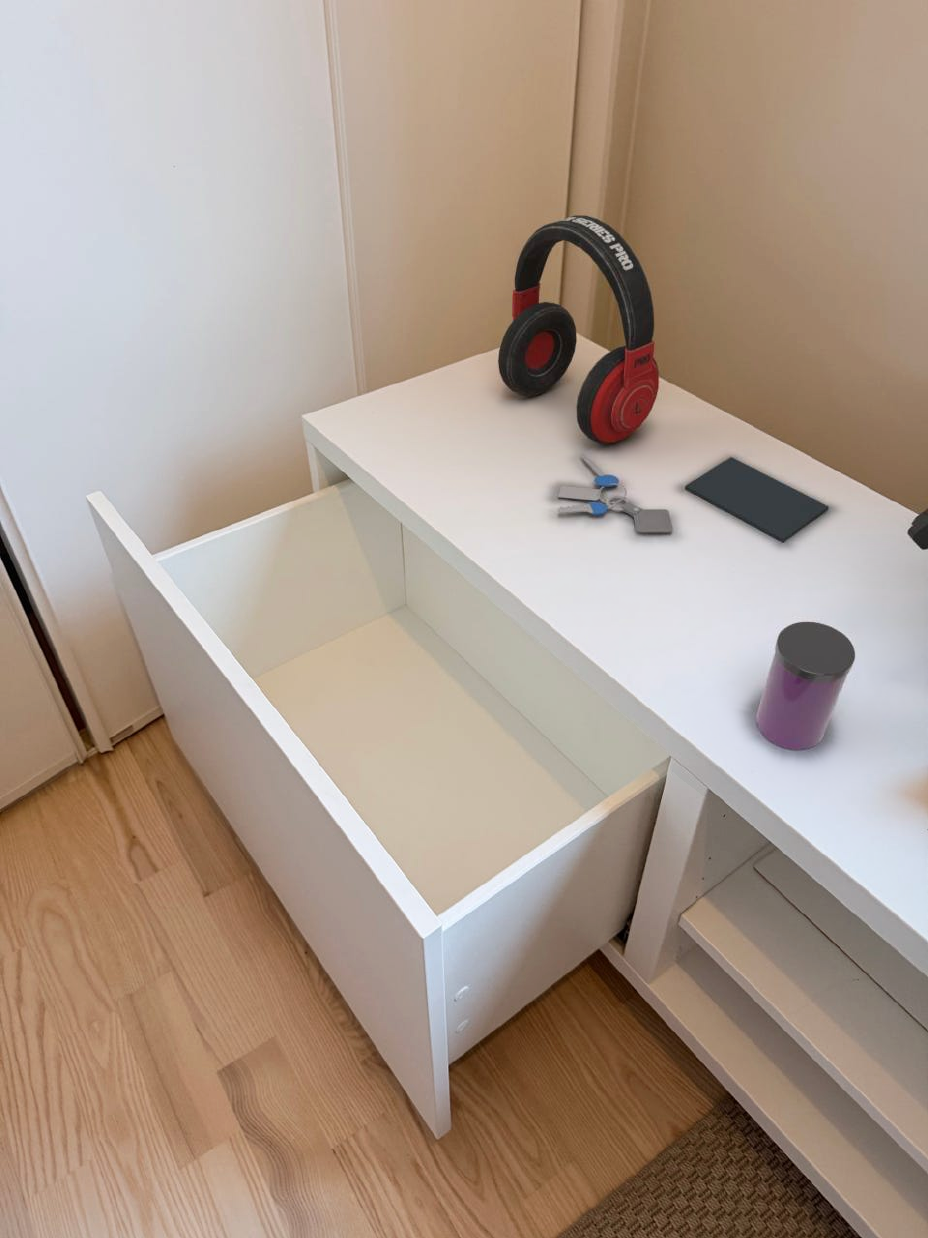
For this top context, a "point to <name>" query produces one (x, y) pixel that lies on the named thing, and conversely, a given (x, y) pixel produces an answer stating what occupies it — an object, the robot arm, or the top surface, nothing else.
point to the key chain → (643, 517)
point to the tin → (803, 684)
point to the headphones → (548, 336)
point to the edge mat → (757, 499)
